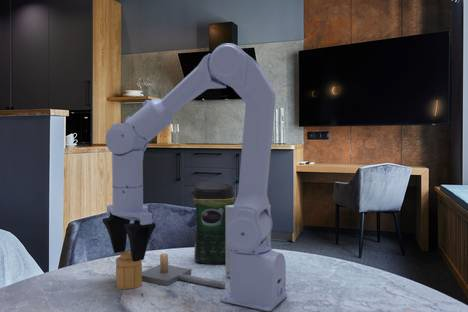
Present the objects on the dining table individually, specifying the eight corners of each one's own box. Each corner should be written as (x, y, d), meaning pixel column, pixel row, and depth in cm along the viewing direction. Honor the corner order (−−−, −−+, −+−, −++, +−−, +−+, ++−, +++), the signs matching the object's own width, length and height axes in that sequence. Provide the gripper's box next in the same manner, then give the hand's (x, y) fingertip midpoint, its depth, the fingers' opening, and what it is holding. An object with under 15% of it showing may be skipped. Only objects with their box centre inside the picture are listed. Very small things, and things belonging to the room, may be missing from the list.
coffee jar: (237, 255, 97) (236, 180, 96) (232, 265, 89) (232, 183, 89) (198, 254, 98) (197, 180, 98) (190, 264, 90) (190, 183, 90)
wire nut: (146, 282, 78) (146, 251, 78) (129, 290, 74) (129, 257, 74) (128, 279, 81) (128, 248, 80) (111, 286, 76) (110, 254, 76)
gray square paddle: (235, 282, 78) (235, 259, 78) (213, 295, 71) (213, 271, 71) (161, 268, 87) (161, 248, 87) (136, 279, 80) (135, 257, 80)
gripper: (166, 187, 74) (166, 259, 75) (128, 182, 85) (129, 245, 85) (131, 191, 69) (132, 267, 70) (96, 184, 80) (97, 251, 80)
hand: (128, 256), depth 77 cm, fingers open, 7 cm apart
